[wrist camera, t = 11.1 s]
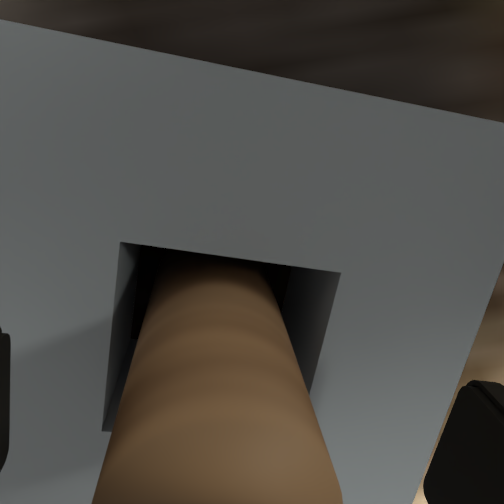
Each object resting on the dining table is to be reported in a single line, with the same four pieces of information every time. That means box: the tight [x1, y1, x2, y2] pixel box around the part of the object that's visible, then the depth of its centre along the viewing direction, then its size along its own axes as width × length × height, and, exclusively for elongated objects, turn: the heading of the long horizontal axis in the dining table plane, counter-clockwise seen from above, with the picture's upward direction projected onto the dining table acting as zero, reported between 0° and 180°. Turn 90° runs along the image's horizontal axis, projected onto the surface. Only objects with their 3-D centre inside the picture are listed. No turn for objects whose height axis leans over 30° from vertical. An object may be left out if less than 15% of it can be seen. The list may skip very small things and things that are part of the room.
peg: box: [91, 248, 343, 504], centre depth 12 cm, size 4×4×10 cm
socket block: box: [0, 19, 504, 504], centre depth 14 cm, size 14×14×5 cm
